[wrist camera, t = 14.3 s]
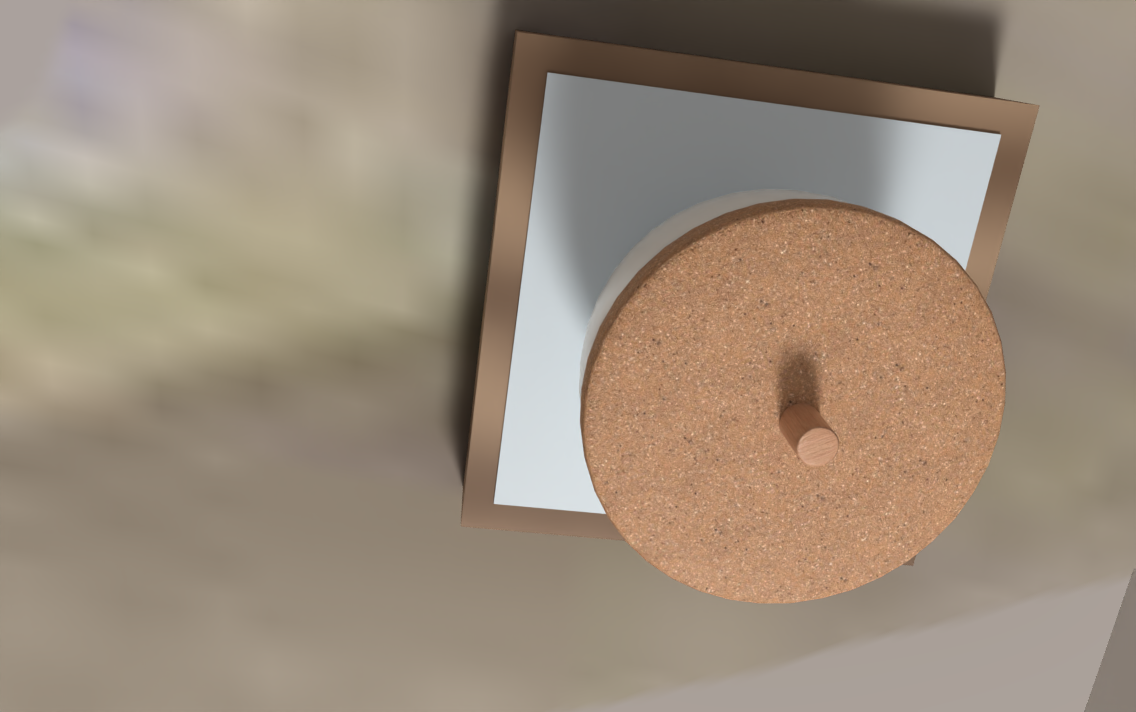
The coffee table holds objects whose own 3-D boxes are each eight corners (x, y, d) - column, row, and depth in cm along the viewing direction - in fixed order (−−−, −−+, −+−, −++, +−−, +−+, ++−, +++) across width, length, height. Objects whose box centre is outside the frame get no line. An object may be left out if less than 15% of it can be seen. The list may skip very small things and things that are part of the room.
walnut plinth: (515, 29, 32) (517, 32, 29) (995, 97, 34) (1041, 105, 31) (463, 488, 37) (460, 528, 34) (883, 525, 39) (914, 567, 36)
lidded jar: (927, 412, 34) (1081, 555, 25) (626, 523, 34) (673, 701, 26) (844, 104, 30) (989, 144, 22) (510, 233, 31) (518, 323, 22)
